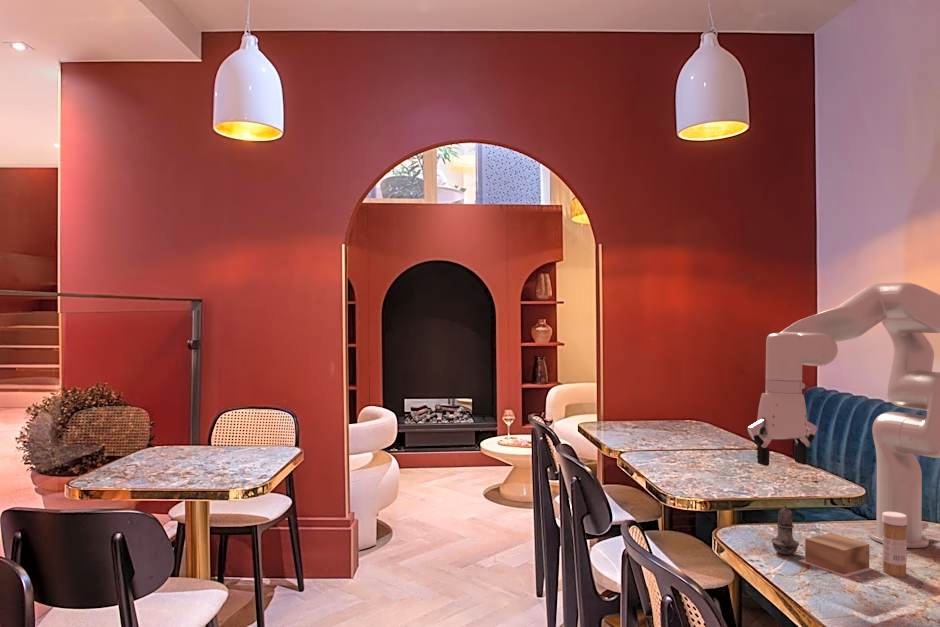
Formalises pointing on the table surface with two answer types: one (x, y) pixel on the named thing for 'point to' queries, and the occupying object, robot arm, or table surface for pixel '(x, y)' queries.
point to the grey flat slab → (837, 572)
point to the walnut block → (837, 553)
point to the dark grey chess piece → (785, 534)
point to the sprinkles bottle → (894, 543)
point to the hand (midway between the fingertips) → (782, 464)
